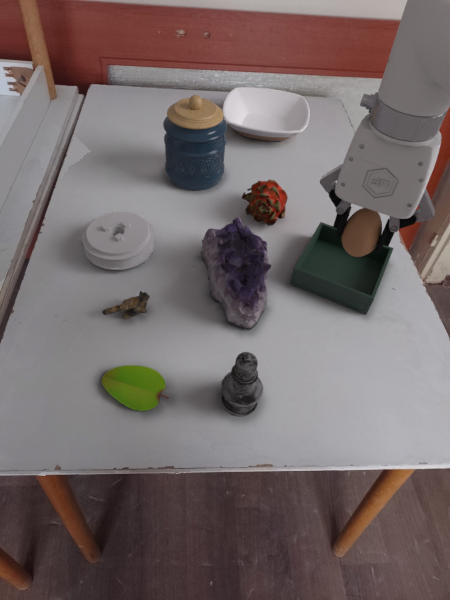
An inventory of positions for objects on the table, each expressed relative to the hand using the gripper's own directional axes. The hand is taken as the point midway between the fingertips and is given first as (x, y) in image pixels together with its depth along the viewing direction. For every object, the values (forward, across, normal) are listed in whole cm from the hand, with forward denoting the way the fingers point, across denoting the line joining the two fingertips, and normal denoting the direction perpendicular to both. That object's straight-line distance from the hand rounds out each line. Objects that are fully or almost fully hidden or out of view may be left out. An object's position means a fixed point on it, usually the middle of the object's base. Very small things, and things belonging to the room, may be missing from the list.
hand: (359, 238), depth 63 cm
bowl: (+17, -34, +51) cm, 63 cm away
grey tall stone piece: (+18, -7, -22) cm, 29 cm away
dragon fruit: (+17, -20, +19) cm, 33 cm away
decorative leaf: (+17, -21, -27) cm, 39 cm away
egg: (+3, 0, 0) cm, 3 cm away
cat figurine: (+17, -30, -16) cm, 38 cm away
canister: (+17, -39, +24) cm, 49 cm away
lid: (+17, -40, -4) cm, 44 cm away
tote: (+17, -2, +10) cm, 20 cm away
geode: (+17, -17, -2) cm, 24 cm away
